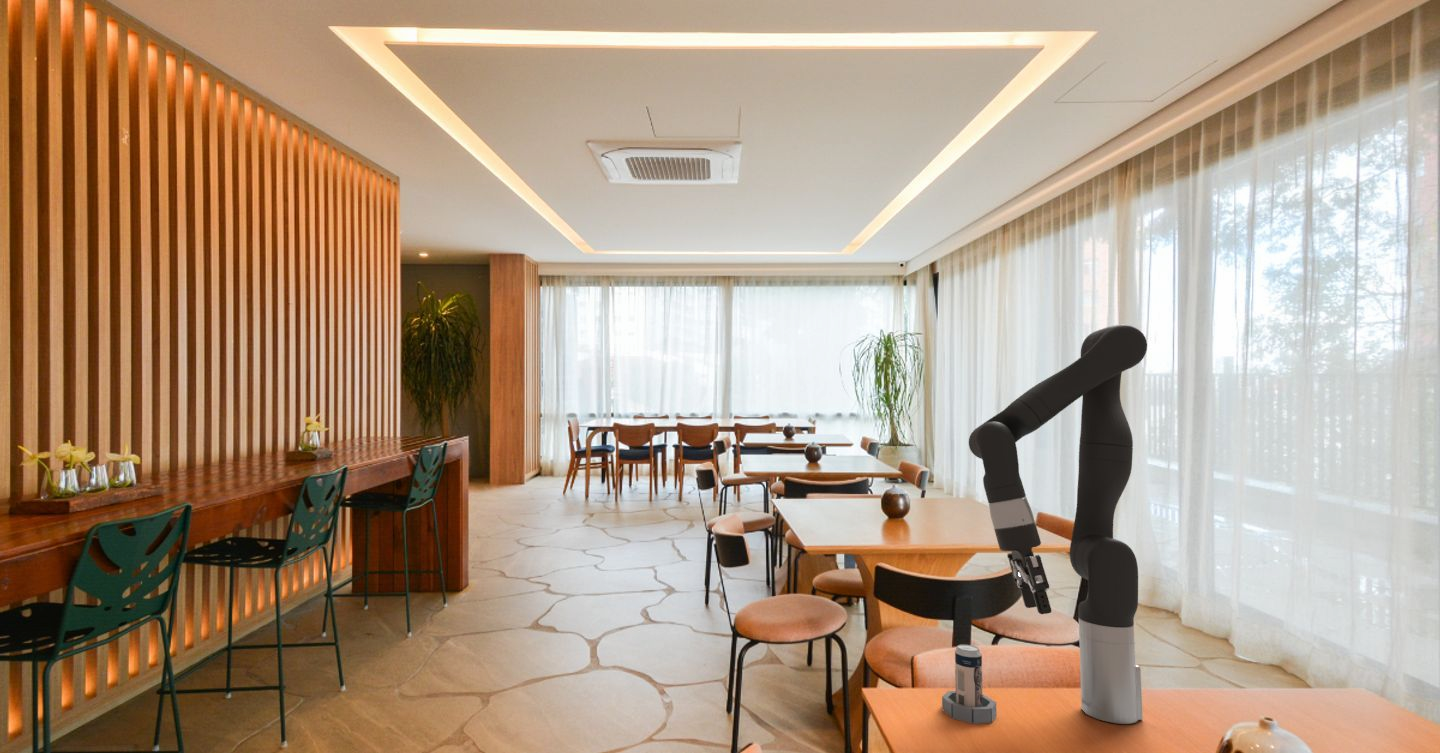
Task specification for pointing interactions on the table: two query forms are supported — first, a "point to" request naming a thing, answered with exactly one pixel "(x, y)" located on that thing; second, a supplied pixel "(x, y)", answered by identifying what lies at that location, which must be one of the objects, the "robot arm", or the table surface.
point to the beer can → (968, 676)
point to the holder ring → (969, 709)
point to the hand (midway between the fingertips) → (1038, 610)
